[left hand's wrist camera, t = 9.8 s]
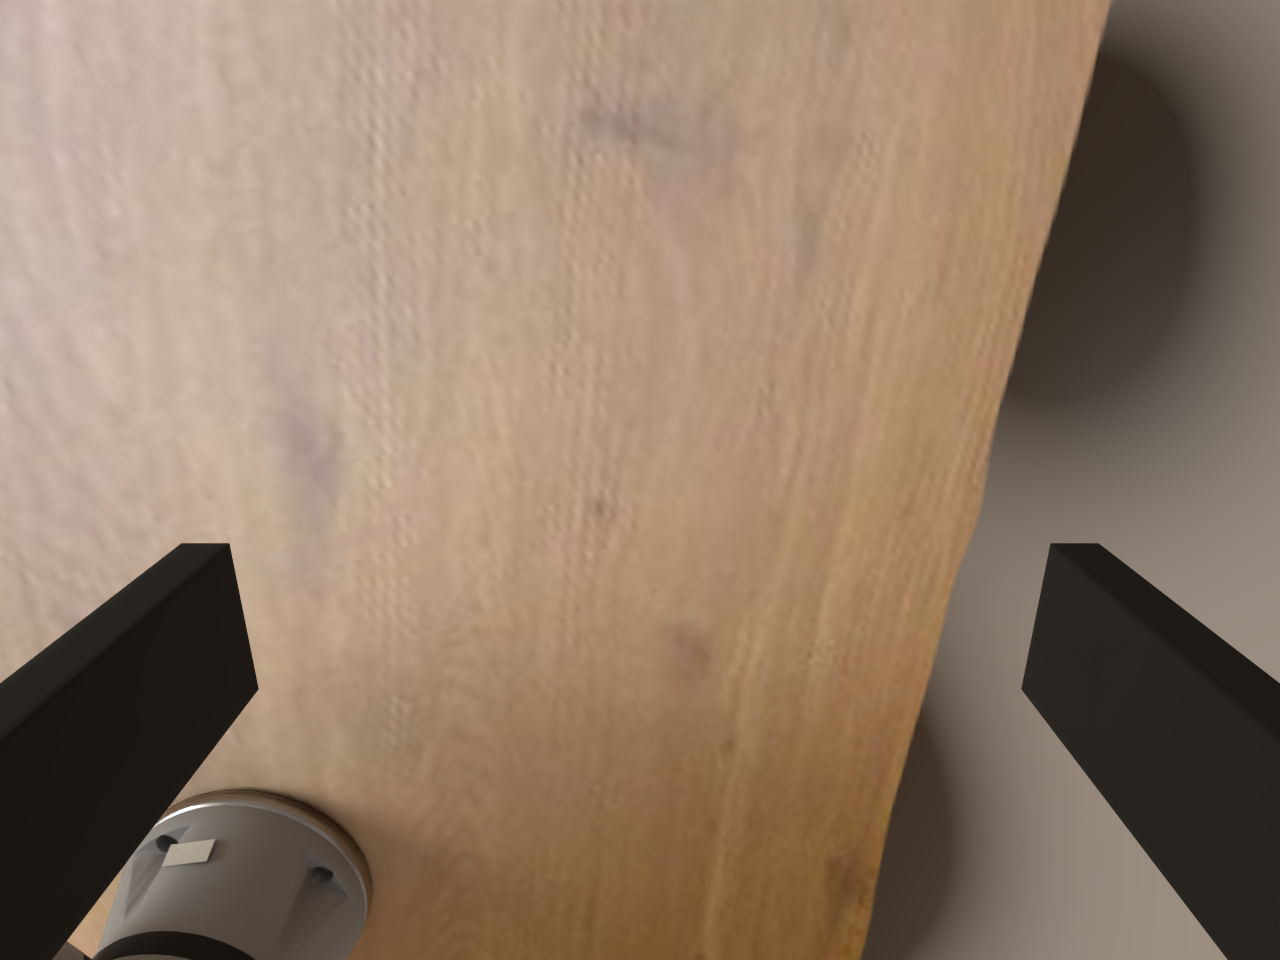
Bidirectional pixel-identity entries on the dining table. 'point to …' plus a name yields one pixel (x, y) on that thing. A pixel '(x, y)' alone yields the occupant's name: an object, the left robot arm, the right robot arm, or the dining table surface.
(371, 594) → the dining table surface
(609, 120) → the dining table surface
